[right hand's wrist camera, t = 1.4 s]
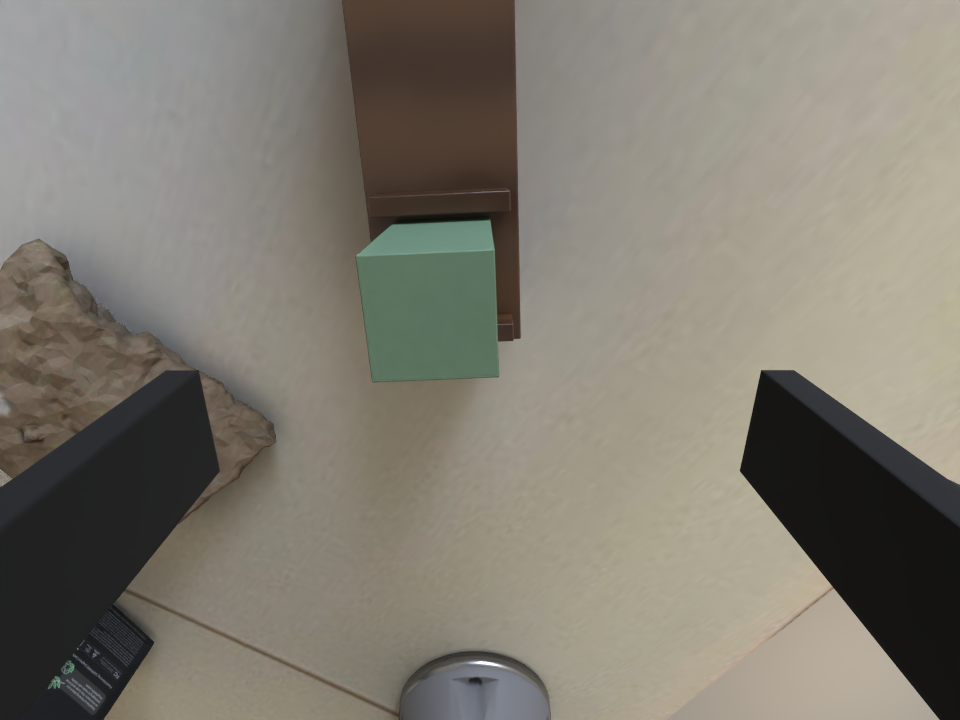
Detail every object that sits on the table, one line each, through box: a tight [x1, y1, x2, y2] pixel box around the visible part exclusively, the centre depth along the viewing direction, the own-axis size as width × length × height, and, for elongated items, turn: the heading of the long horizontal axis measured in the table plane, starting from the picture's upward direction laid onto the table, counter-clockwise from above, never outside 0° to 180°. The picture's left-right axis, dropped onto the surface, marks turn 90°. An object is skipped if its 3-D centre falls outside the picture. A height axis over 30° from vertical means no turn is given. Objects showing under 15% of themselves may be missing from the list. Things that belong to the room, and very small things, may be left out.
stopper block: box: [356, 216, 499, 382], centre depth 25 cm, size 5×5×10 cm
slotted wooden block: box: [342, 0, 521, 341], centre depth 29 cm, size 26×8×11 cm, turn 3°
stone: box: [0, 239, 276, 523], centre depth 39 cm, size 21×15×6 cm
